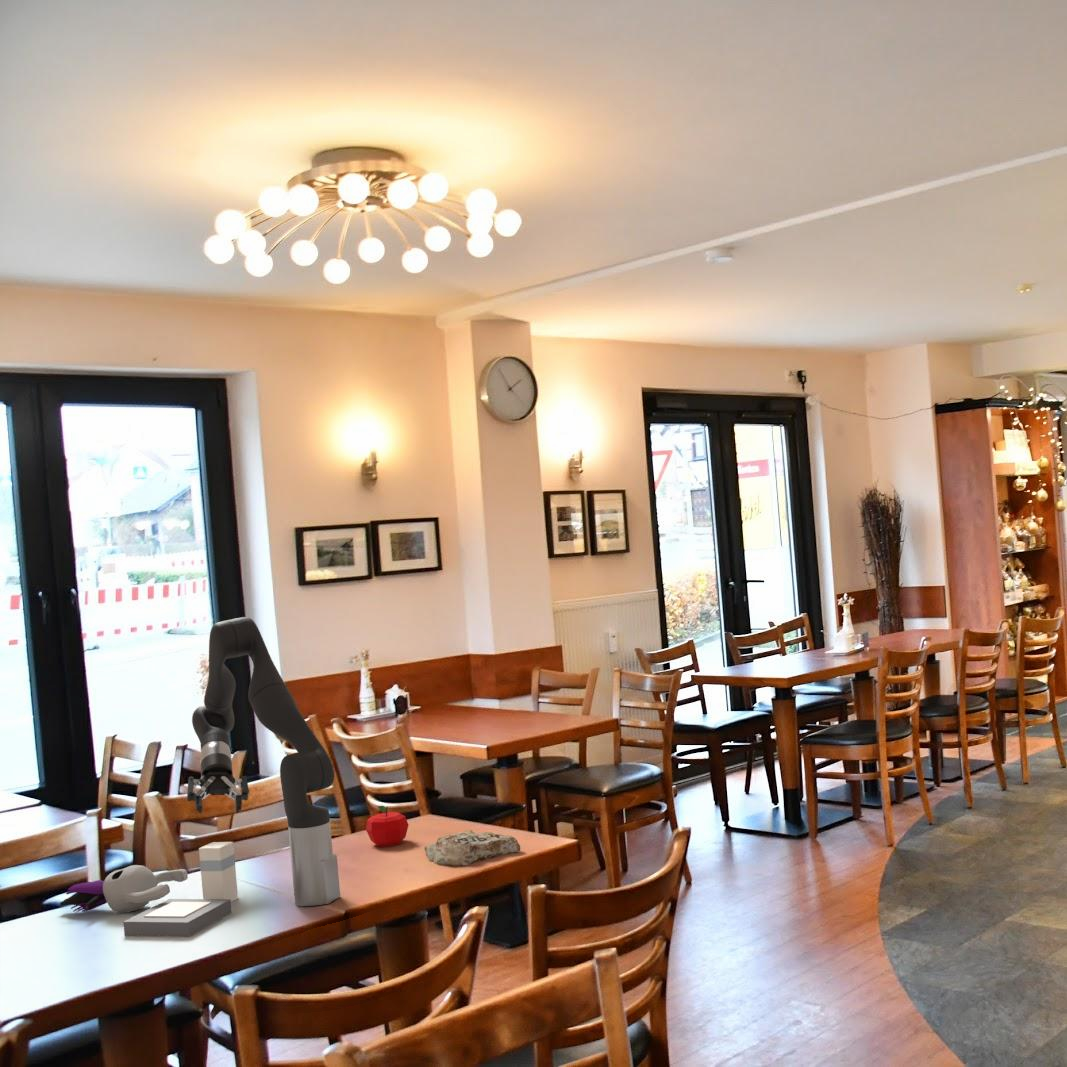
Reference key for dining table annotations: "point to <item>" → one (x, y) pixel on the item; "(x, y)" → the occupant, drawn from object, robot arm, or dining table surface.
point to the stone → (470, 848)
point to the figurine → (123, 889)
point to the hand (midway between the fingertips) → (219, 810)
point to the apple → (387, 828)
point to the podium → (177, 917)
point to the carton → (218, 871)
